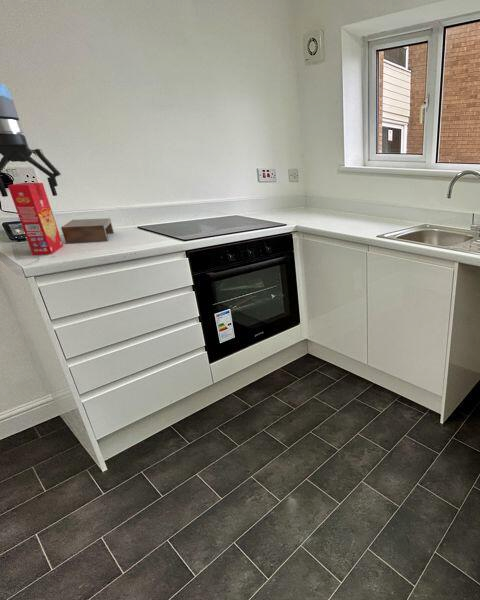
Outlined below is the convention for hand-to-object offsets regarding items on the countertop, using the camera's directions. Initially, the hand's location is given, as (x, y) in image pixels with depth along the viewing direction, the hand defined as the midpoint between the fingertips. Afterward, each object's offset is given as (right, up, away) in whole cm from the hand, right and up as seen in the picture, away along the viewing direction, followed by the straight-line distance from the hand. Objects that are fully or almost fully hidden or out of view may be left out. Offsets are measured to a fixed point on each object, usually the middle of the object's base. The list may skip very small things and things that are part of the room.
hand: (30, 196), depth 131 cm
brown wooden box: (-4, -10, +31) cm, 32 cm away
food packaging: (-1, -20, +7) cm, 21 cm away
